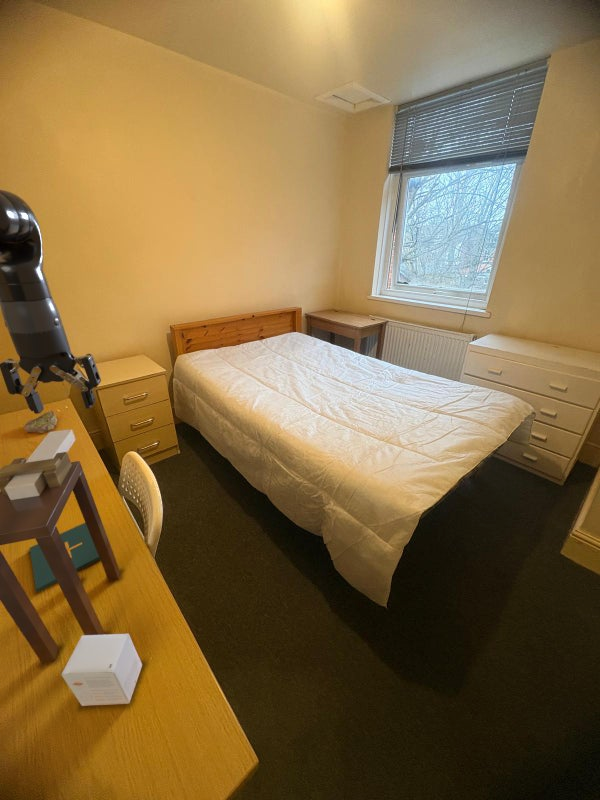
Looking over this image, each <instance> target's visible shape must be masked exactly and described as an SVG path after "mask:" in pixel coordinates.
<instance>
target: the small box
mask: <svg viewBox="0 0 600 800" xmlns="http://www.w3.org/2000/svg"><path fill="white" fill-rule="evenodd" d="M142 667H143V663H142V661H141V658H140V657H139V654H138V651H137V648H136V647H135V645H134V642H133V640H132V638H131V636H130V634H129V633H111V634H110V633H105V635H84V634H82V635H81V636H80V638H79V640H78V641H77V644H76V646H75V647H74V649H73V652H72V653H71V655H70V657H69V659H68V661H67V663H66V664H65V667H63V670H62V672H61V673H60V674H61V677H62V678H63V680H64V682H65V683H66V684H67V686H68V688H69V689H70V691H71V692H72V693H73V695H74V697H75V698H76V699H77V702H79V704H80V706H82V707H86V706H106V705H128V704H130V702H131V700H132V697H133V694H134V691H135V688H136V685H137V682H138V679H139V677H140V673H141V672H142V671H141V670H142Z"/></svg>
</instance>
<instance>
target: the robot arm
mask: <svg viewBox="0 0 600 800" xmlns="http://www.w3.org/2000/svg"><path fill="white" fill-rule="evenodd" d="M43 248H44V247H43V238H42V231H41V227H40V223H39V220H38V219H37V216H36V214H35V212H34V211H33V209H32V208H31V206H30V205H29V203H27V202H26V201H25V200H24V198H22V197H21V196H19V195H17V194H15V193H13V192H11V191H8V190H4V189H0V311H1V315H2V319H3V321H4V326H5V327H6V328H7V331H8V334H9V336H10V339H11V342H12V344H13V346H14V349H15V351H16V354H17V355H18V357H19V360H14V359H13V358H7V359H5V360H4V361H2V362H1V363H0V372H1V376H2V378H3V381H4V384H5V387H6V389H7V393H8V394H9V395H13V396H14V395H20V396H22V397H24V399H25V401H26V404H27V406H28V408H29V410H30V411H31V412H33V413H34V414H35V415H38V414H41V413H42V412H43V411H44V408H45V407H44V405H43V402H42V399H41V396H40V394H39V391H36V390H37V387H38V385H39V383H40V382H42V384H48V383H53V382H54V383H55V382H57V383H61V382H64V381H65V382H67V383H68V384H70V385H71V386H75V387H76V388H77V389H79V390H80V394H81V398H82V401H83V404H84V407H85V409H86V410H87V409H92V407H93V406H94V405H95V404H96V397H95V393H94V390H93V388H95V389H96V388H98V386H99V385H100V383H101V382H102V379H101V376H100V373H99V372H100V371H99V370H98V367H97V363H96V361H95V359H94V356H93V355H92V354H91V353H86V354H85V355H83V356H75V355H74V354H73V352H72V351H71V346H70V343H69V340H68V336H67V334H66V330H65V327H64V324H63V320H62V318H61V315H60V311H59V308H58V307H57V305H56V303H55V300H54V298H53V295H52V291H51V288H50V285H49V281H48V279H47V276H46V273H45V271H44V270H45V269H44V249H43ZM76 365H79V366H80V368H82V369H84V372H85V375H86V377H87V378H86V377H85V376H84V375H83V374H82V372H80V371H79V370H78V369H76ZM20 370H23V371H24V372H25V373H27V374H28V375H29V376H28V378H27V379H26V381H25V383H24V384H23V383H22V380H21V376H20V373H19V371H20Z"/></svg>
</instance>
